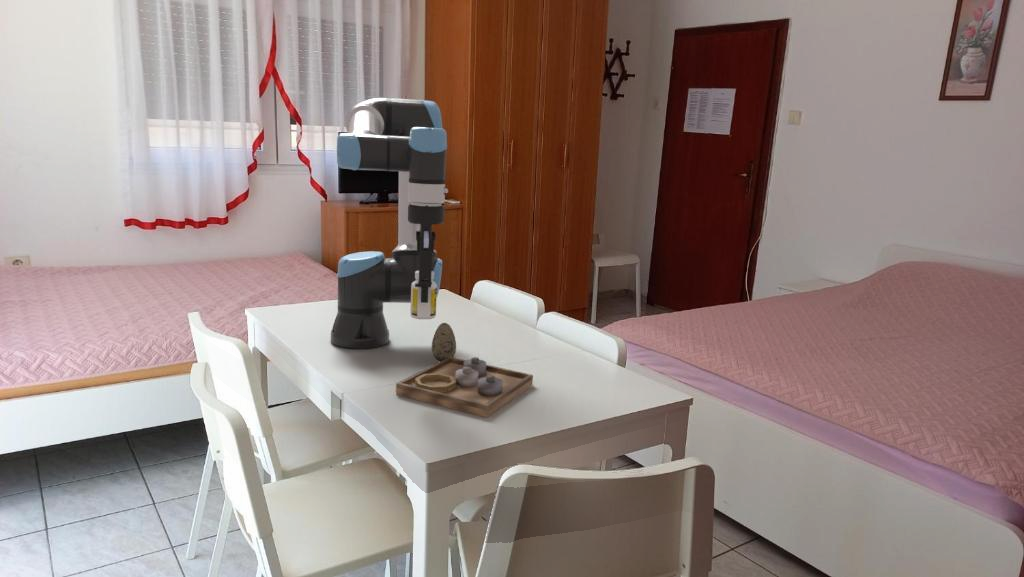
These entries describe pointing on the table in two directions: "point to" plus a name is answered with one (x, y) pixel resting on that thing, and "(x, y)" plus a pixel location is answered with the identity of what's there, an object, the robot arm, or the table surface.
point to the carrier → (465, 385)
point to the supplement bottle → (415, 298)
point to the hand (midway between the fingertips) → (423, 313)
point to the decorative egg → (443, 342)
